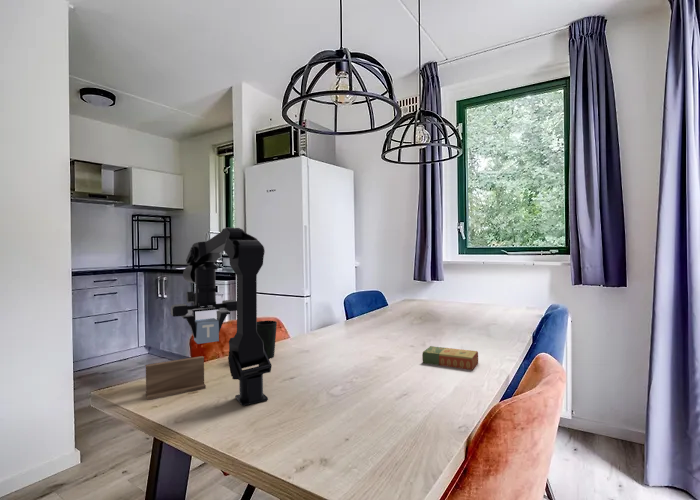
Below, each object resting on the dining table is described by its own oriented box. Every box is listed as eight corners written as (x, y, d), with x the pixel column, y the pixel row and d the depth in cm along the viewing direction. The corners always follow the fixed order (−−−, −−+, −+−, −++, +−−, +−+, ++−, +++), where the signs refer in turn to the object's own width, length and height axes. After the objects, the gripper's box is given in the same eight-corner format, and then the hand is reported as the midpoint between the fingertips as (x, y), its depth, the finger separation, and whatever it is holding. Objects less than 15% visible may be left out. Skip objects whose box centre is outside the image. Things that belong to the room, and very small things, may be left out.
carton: (472, 371, 114) (472, 357, 114) (421, 364, 123) (421, 350, 123) (478, 363, 122) (478, 350, 122) (430, 357, 130) (429, 344, 130)
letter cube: (218, 341, 113) (218, 321, 113) (197, 344, 110) (197, 323, 110) (214, 337, 118) (214, 318, 118) (193, 339, 115) (193, 320, 115)
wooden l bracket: (205, 388, 102) (205, 358, 102) (147, 399, 95) (146, 368, 95) (201, 382, 107) (201, 354, 107) (145, 393, 99) (145, 363, 99)
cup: (271, 360, 127) (271, 325, 127) (250, 359, 129) (250, 324, 129) (280, 354, 135) (280, 320, 135) (260, 353, 136) (260, 320, 136)
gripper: (230, 281, 125) (230, 328, 125) (168, 284, 116) (168, 335, 116) (239, 283, 116) (240, 334, 116) (172, 287, 106) (173, 342, 106)
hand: (206, 336), depth 114 cm, fingers closed on letter cube, 6 cm apart
